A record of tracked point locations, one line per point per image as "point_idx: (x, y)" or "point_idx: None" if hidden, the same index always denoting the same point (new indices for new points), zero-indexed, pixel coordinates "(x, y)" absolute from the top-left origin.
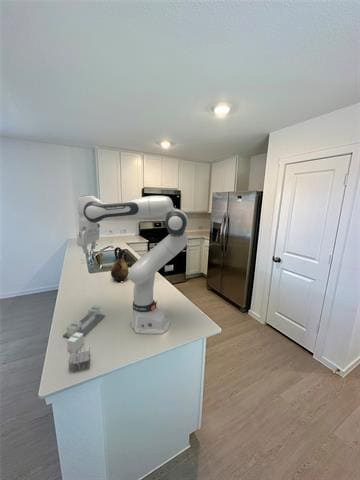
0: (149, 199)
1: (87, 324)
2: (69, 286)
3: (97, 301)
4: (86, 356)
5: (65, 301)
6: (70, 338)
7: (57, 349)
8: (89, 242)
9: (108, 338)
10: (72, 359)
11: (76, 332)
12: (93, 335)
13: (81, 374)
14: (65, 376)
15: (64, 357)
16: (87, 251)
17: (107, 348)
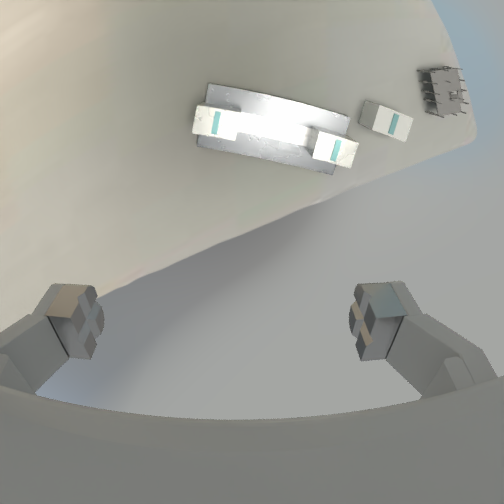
0: None
1: (275, 122)
2: None
3: (102, 162)
4: (447, 75)
5: (127, 269)
6: (398, 135)
7: (378, 164)
8: (441, 429)
9: (340, 35)
10: (452, 106)
11: (372, 128)
12: (325, 84)
13: None
14: None
15: None
16: (391, 293)
17: (383, 32)
